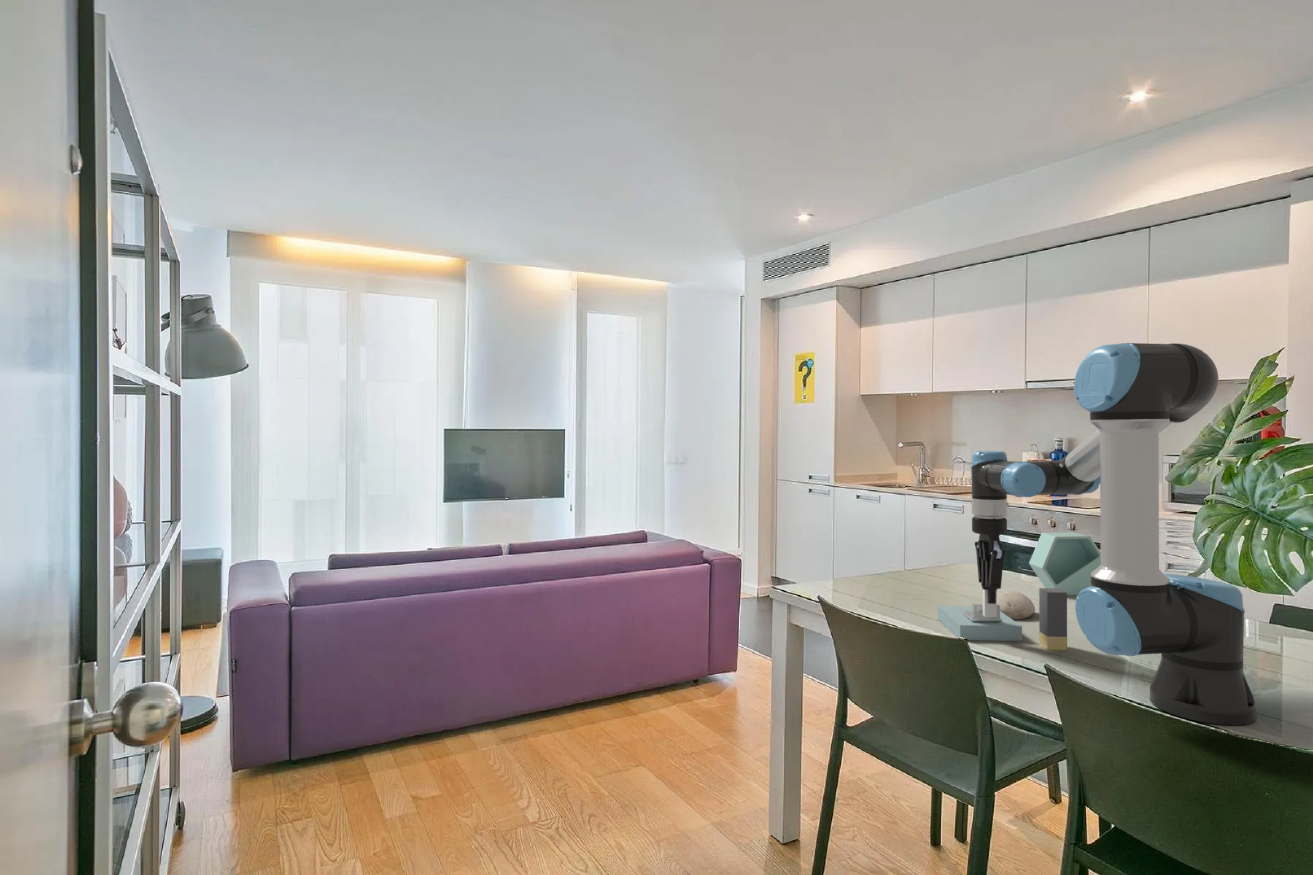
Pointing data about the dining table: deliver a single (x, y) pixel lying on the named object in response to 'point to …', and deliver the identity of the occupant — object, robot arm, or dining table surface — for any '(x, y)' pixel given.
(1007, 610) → the stone
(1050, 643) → the plug
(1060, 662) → the dining table surface
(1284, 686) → the dining table surface
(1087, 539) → the planter
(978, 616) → the shutter
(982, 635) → the socket board
